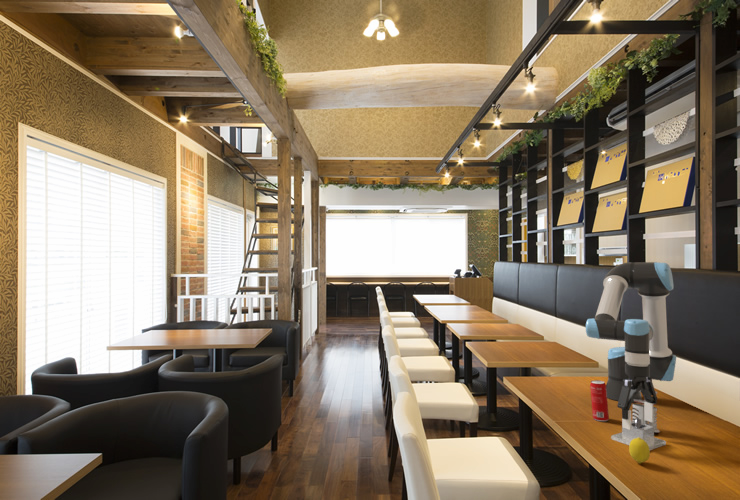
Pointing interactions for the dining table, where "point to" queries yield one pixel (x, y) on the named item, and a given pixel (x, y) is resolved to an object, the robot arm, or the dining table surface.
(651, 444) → the toggle switch
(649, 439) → the white square hollow block
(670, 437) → the dining table surface
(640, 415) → the french press
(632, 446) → the lemon
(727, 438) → the dining table surface
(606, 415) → the beverage can
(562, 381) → the dining table surface
